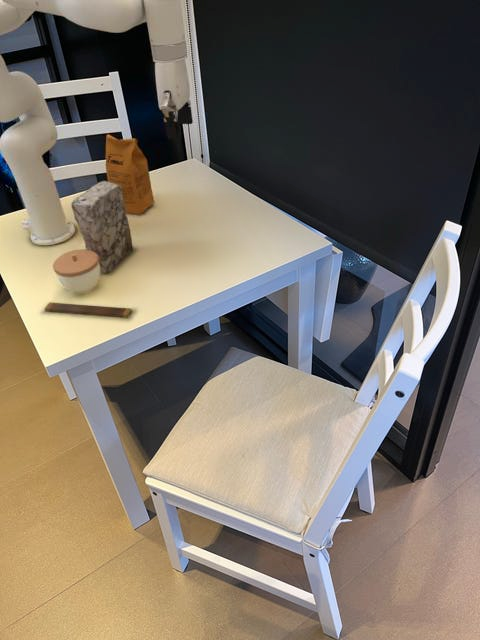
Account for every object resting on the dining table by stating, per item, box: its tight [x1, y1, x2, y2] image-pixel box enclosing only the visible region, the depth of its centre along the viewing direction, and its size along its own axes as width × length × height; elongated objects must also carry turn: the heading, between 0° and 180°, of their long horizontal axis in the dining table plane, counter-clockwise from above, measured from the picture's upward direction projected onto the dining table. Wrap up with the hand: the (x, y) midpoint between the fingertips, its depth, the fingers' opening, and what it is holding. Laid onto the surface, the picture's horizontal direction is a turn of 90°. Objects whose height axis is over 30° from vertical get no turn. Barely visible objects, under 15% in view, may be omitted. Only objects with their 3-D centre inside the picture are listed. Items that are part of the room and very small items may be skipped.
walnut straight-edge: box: [44, 302, 133, 319], centre depth 121 cm, size 21×2×1 cm, turn 78°
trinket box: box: [52, 248, 102, 295], centre depth 127 cm, size 11×11×9 cm
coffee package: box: [105, 134, 155, 215], centre depth 155 cm, size 10×12×22 cm
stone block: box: [70, 180, 134, 274], centre depth 132 cm, size 13×7×20 cm, turn 161°
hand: (180, 130), depth 123 cm, fingers open, 9 cm apart
